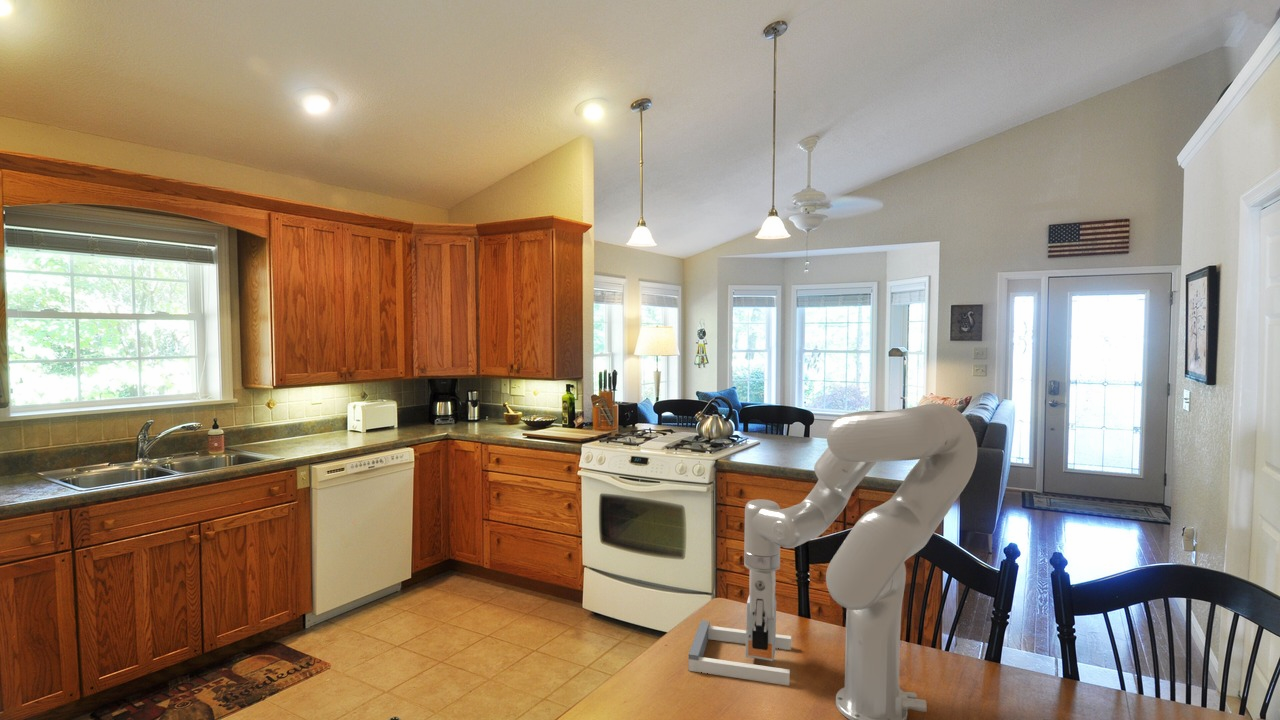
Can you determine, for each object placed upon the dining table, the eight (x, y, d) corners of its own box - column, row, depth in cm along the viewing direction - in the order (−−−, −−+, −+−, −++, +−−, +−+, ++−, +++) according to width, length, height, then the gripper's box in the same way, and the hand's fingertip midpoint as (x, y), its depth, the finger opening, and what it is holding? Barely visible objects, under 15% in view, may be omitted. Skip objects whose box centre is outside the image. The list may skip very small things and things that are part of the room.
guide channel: (791, 646, 140) (791, 631, 140) (789, 685, 124) (789, 668, 124) (700, 634, 145) (701, 620, 145) (688, 670, 130) (688, 654, 129)
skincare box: (745, 657, 132) (745, 602, 132) (747, 648, 136) (748, 594, 136) (774, 662, 131) (775, 606, 130) (775, 652, 135) (776, 598, 134)
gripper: (778, 575, 124) (776, 665, 124) (781, 547, 140) (780, 627, 141) (740, 571, 126) (739, 660, 126) (747, 544, 142) (746, 623, 143)
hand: (760, 641), depth 133 cm, fingers closed on skincare box, 4 cm apart
